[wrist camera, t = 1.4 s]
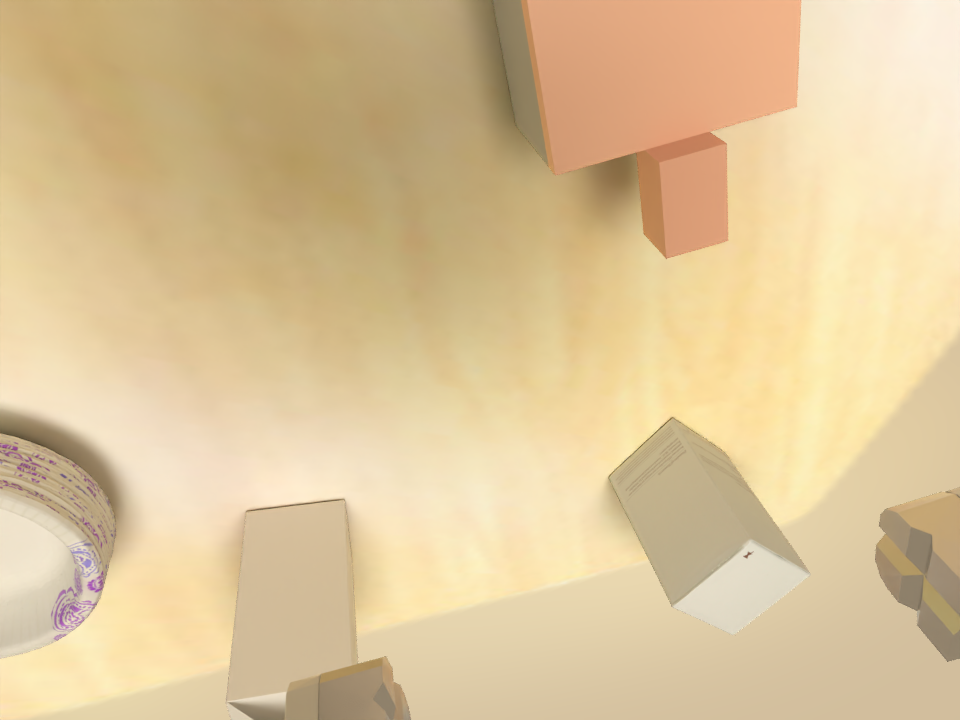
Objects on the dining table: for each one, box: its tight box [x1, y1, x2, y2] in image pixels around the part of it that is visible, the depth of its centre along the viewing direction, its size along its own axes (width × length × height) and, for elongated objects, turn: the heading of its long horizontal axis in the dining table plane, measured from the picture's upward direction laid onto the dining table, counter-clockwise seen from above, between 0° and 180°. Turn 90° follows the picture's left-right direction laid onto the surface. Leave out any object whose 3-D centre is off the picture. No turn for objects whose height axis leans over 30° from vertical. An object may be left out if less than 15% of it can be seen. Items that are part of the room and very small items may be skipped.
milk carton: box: [226, 500, 358, 720], centre depth 47 cm, size 7×7×19 cm
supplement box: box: [609, 418, 810, 635], centre depth 53 cm, size 7×7×13 cm
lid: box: [521, 0, 801, 259], centre depth 31 cm, size 21×12×3 cm, turn 12°
